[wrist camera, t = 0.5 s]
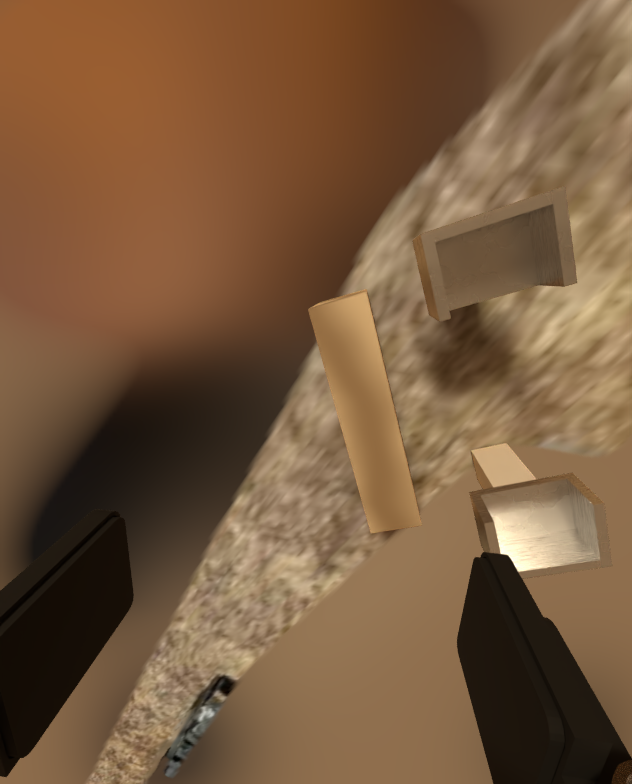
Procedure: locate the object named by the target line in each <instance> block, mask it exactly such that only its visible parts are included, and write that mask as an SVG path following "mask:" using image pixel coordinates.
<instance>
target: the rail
mask: <svg viewBox="0 0 632 784" xmlns="http://www.w3.org/2000/svg"><path fill="white" fill-rule="evenodd" d="M308 311H309V314H310V318H311V321H312V325H313V328H314V332H315V336H316V339H317V343H318V346H319V350H320V353H321V357H322V361H323V364H324V368H325V371H326V375H327V378H328V382H329V386H330V389H331V393H332V396H333V400H334V403H335V407H336V410H337V414H338V418H339V421H340V425H341V428H342V432H343V435H344V439H345V443H346V446H347V450H348V453H349V457H350V460H351V464H352V467H353V471H354V475H355V478H356V482H357V485H358V489H359V492H360V496H361V500H362V503H363V507H364V510H365V514H366V517H367V521H368V524H369V528H370V532H371V533H376V532H383V531H390V530H396V529H403V528H409V527H416V526H422V523H421V519H420V514H419V510H418V505H417V501H416V496H415V492H414V487H413V483H412V478H411V474H410V470H409V466H408V462H407V457H406V453H405V449H404V445H403V440H402V436H401V432H400V428H399V424H398V419H397V415H396V411H395V407H394V403H393V398H392V394H391V390H390V386H389V381H388V377H387V373H386V369H385V365H384V360H383V356H382V352H381V348H380V344H379V339H378V335H377V331H376V327H375V322H374V318H373V314H372V310H371V306H370V301H369V297H368V293H367V289H365V290H362V291H358V292H355V293H351V294H348V295H344V296H341V297H337V298H334V299H330V300H327V301H323V302H320V303H318V304H316V305H315V306H313V307H311V308H310V309H308Z"/></svg>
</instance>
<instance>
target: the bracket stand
mask: <svg viewBox="0 0 632 784" xmlns="http://www.w3.org/2000/svg"><path fill="white" fill-rule="evenodd" d="M412 242H413V247H414V251H415V255H416V260H417V264H418V269H419V273H420V277H421V282H422V286H423V291H424V295H425V300H426V304H427V308H428V313H429V315H430V316H431V317H433V318H434V319H436V320H438V321H439V322H441V321H444V320H448V319H451V316H450V310H454V309H457V308H461V307H464V306H468V305H471V304H475V303H478V302H482V301H485V300H489V299H492V298H496V297H499V296H503V295H506V294H510V293H513V292H517V291H520V290H524V289H527V288H531V287H534V286H537V285H543V286H562V287H565V286H568V285H572V284H575V283H577V277H576V268H575V260H574V252H573V244H572V236H571V228H570V220H569V212H568V204H567V195H566V187H565V186H563V187H560V188H557V189H554V190H551V191H548V192H545V193H542V194H539V195H536V196H533V197H530V198H527V199H524V200H521V201H518V202H515V203H512V204H509V205H506V206H503V207H500V208H497V209H494V210H491V211H488V212H485V213H482V214H479V215H476V216H473V217H470V218H467V219H464V220H461V221H458V222H455V223H452V224H449V225H446V226H443V227H440V228H437V229H434V230H431V231H428V232H425V233H422V234H420V235H419V236H417V237H416V238H415V239H413V240H412ZM471 452H472V457H473V461H474V466H475V471H476V475H477V480H478V481H479V483H480V485H481V487H482V489H483V490H477V491H472V492H469V493H470V498H471V502H472V507H473V511H474V516H475V520H476V525H477V529H478V533H479V538H480V542H481V546H482V548H483V550H484V552H489V553H498V554H507V555H508V556H509V557H510V558H511V560H512V561H513V563H514V565H515V567H516V569H517V571H518V572H519V574H520V576H521V578H522V579H524V578H532V577H538V576H546V575H553V574H560V573H567V572H575V571H582V570H590V569H597V568H604V567H611V566H612V561H611V552H610V545H609V536H608V528H607V520H606V513H605V504H604V502H603V501H602V500H601V499H600V498H599V497H597V496H596V495H595V494H594V493H593V492H592V491H591V490H590V489H589V488H588V487H587V486H586V485H585V484H584V483H583V482H582V481H580V480H579V478H577V477H576V476H575V475H574V474H573V473H568V474H562V475H557V476H552V477H546V478H541V479H536V478H535V477H534V476H533V475H532V473H531V472H530V471H529V470H528V469H527V467H526V466H525V465H524V464H523V463H522V461H520V459H519V458H518V457H517V456H516V454H515V453H514V452H513V451H512V449H511V448H510V447H509V446H508V445H507V443H504V444H499V445H495V446H490V447H485V448H480V449H476V450H471Z"/></svg>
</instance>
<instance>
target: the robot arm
mask: <svg viewBox="0 0 632 784" xmlns="http://www.w3.org/2000/svg"><path fill="white" fill-rule="evenodd" d="M132 602H133V586H132V578H131V569H130V561H129V552H128V543H127V535H126V526H125V520H124V519H123V518H121V517H120V514H119V513H118V512H116V511H109V510H99V509H96V510H93V511H92V512H90V513H89V514H88V515H87V516H86V517H85V518H83V519H82V520H81V521H80V522H79V523H78V524H77V525H75V526H74V527H73V528H72V529H71V530H70V531H69V532H67V533H66V534H65V535H64V536H63V537H62V538H60V539H59V540H58V541H57V542H56V543H55V544H54V545H53V546H51V547H50V548H49V549H48V550H47V551H46V552H44V553H43V554H42V555H41V556H40V557H39V558H38V559H37V560H35V561H34V562H33V563H32V564H31V565H29V567H27V568H26V569H25V570H24V571H23V572H21V573H20V574H19V575H18V576H17V577H16V578H15V579H13V580H12V581H11V582H10V583H9V584H8V585H7V586H5V587H4V588H3V589H2V590H1V591H0V776H3V777H7V776H8V774H9V773H10V772H11V770H12V769H13V767H14V766H15V765H16V763H17V762H18V760H19V759H20V758H24V757H25V756H27V755H28V754H29V753H30V752H31V750H32V749H33V748H34V747H35V745H36V744H37V742H38V741H39V740H40V738H41V737H42V735H43V734H44V732H45V731H46V729H47V728H48V727H49V725H50V723H51V722H52V721H53V719H54V718H55V716H56V715H57V713H58V712H59V710H60V709H61V708H62V706H63V705H64V703H65V702H66V700H67V699H68V698H69V696H70V694H71V693H72V692H73V690H74V689H75V687H76V686H77V685H78V683H79V682H80V680H81V679H82V677H83V676H84V674H85V673H86V672H87V670H88V669H89V667H90V666H91V664H92V663H93V661H94V660H95V659H96V657H97V656H98V654H99V653H100V651H101V650H102V648H103V647H104V645H105V644H106V643H107V641H108V640H109V638H110V636H111V635H112V634H113V632H114V631H115V629H116V628H117V627H118V625H119V624H120V622H121V621H122V620H123V618H124V617H125V615H126V614H127V612H128V611H129V609H130V607H131V605H132ZM457 648H458V654H459V658H460V662H461V665H462V669H463V673H464V677H465V680H466V684H467V688H468V691H469V695H470V699H471V703H472V706H473V710H474V714H475V717H476V721H477V725H478V728H479V732H480V736H481V739H482V743H483V747H484V751H485V754H486V758H487V761H488V765H489V769H490V772H491V776H492V780H493V784H632V758H631V756H630V755H629V753H628V751H627V750H626V748H625V746H624V744H623V743H622V741H621V739H620V737H619V736H618V734H617V732H616V731H615V729H614V727H613V725H612V723H611V722H610V720H609V718H608V716H607V715H606V713H605V711H604V710H603V708H602V706H601V704H600V702H599V701H598V699H597V697H596V696H595V694H594V692H593V690H592V689H591V687H590V685H589V683H588V682H587V680H586V678H585V676H584V675H583V673H582V671H581V669H580V668H579V666H578V664H577V662H576V661H575V659H574V657H573V655H572V654H571V652H570V650H569V648H568V647H567V645H566V643H565V642H564V640H563V638H562V636H561V635H560V633H559V631H558V629H557V628H556V626H555V625H554V623H553V622H552V621H551V620H549V619H548V618H544V617H543V616H542V614H541V612H540V610H539V609H538V607H537V605H536V603H535V601H534V599H533V598H532V596H531V594H530V592H529V590H528V589H527V587H526V585H525V583H524V582H523V580H522V578H521V576H520V574H519V572H518V571H517V569H516V567H515V565H514V563H513V561H512V560H511V558H510V557H509V556H508V555H507V554H498V553H489V552H483V553H482V555H481V557H480V558H479V557H476V558H474V561H473V565H472V570H471V574H470V579H469V584H468V589H467V594H466V598H465V603H464V608H463V613H462V618H461V623H460V627H459V632H458V637H457Z"/></svg>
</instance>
